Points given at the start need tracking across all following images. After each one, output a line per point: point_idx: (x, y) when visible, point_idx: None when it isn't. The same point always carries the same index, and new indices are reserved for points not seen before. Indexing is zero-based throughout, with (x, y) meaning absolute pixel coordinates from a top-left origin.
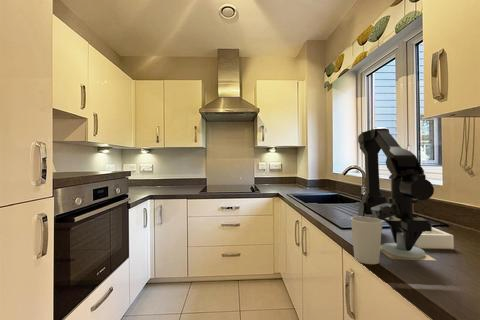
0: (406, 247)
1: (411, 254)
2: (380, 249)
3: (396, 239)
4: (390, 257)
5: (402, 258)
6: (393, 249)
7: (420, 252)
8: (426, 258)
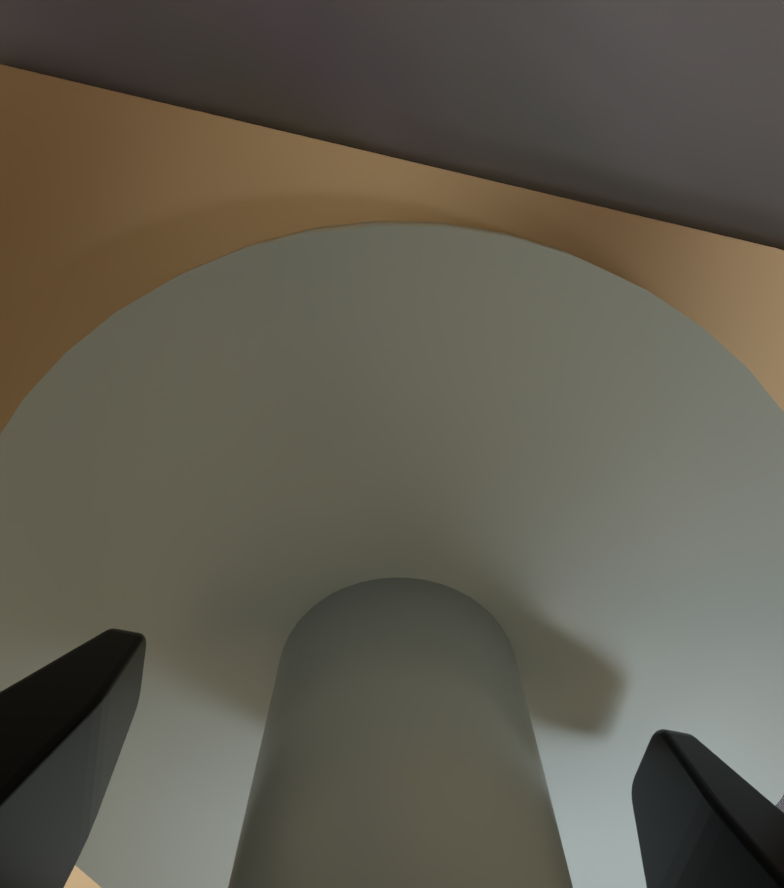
0: (56, 662)
1: (13, 614)
2: (650, 255)
3: (689, 830)
4: (63, 110)
5: (4, 366)
6: (373, 447)
7: (138, 847)
8: None
